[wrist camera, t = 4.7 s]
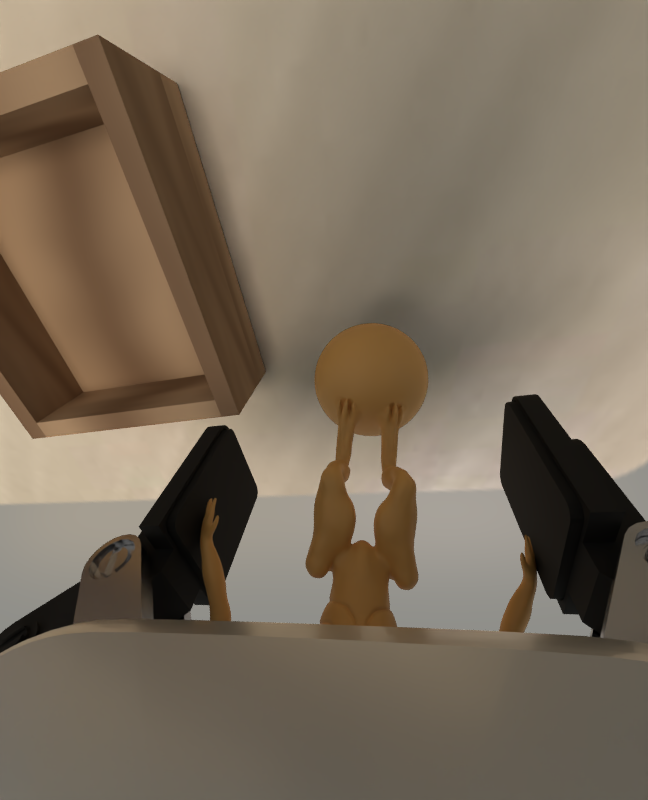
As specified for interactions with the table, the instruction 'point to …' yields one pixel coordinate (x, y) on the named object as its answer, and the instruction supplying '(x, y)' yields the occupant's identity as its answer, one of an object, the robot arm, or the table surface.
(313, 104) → the table surface
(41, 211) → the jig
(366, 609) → the figurine
